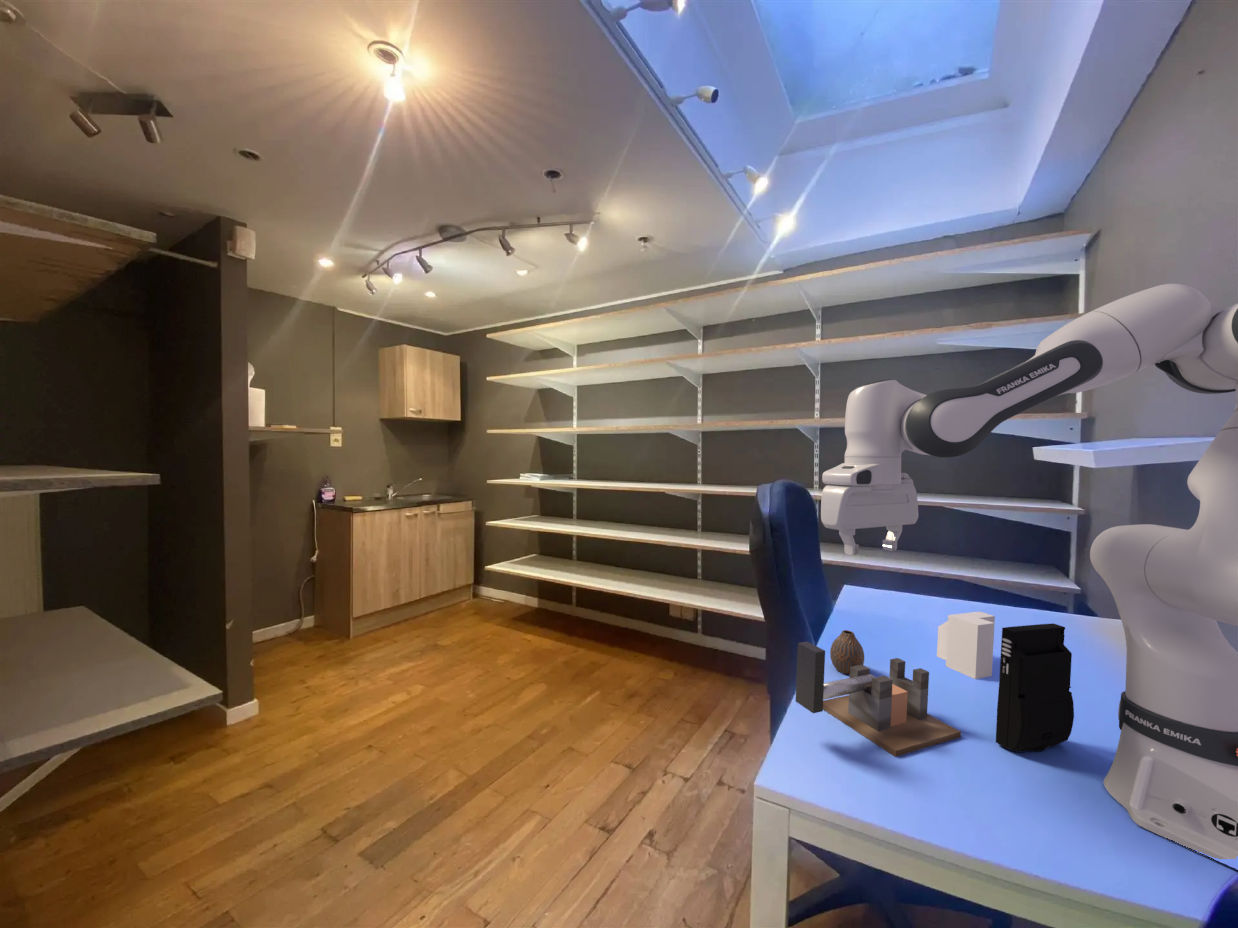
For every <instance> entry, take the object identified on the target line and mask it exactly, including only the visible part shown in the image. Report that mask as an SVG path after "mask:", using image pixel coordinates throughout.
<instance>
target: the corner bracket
mask: <svg viewBox="0 0 1238 928" xmlns="http://www.w3.org/2000/svg"><path fill="white" fill-rule="evenodd" d="M995 621H996V616H995V615H992V614H989V613H985V612H982V611H973V612H963V613H954V614H948V615H947V620H946V621H945V622H943V623H942V624H940V625H938V627H937V643H936V645H937V646H936V657H937V658H940V659H942V660H944V661H945V667H947V668H949V669H951V670H952V671H956V672H957V673H960V674H961V675H965V676H967V677H969V678H972V679H973V680H978V679H984V678H990V677H992V676H993V662H994V661H993V659H994V658H993V657H994V642H995V641H994V640H995Z"/></svg>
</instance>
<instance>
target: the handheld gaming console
mask: <svg viewBox="0 0 1238 928" xmlns="http://www.w3.org/2000/svg"><path fill="white" fill-rule="evenodd" d="M1065 630H1066V627H1065V626H1063V625H1060V624H1057V623H1040V624H1038V623H1037V624H1029V625H1027V624H1025V625H1017V626H1006V627H1002V628H1001V644H1000V645H1001V646H1000V647H1001V648H1000V658H999V659H1000V661H999V663H1000V664H999V677H998V678H999V679H998V695H997V704H996V705H997V709H996V724H995V725H996V726H995V727H996V728H995V743H996V744H997V745H999V746H1001V747H1003V748H1005V749H1008V750H1010V751H1012V752H1016V753H1017V752H1020V753H1022V752H1043V751H1045V750H1047V749H1048V748H1049V747H1051V748H1053V747H1055V746H1057V745H1059V744H1062V743H1064V742H1067V741H1068V740H1069V738H1070V736H1071V734H1072V730H1073V726H1074V719H1075V711H1074V710H1075V708H1074V705H1075V704H1074V699H1073V694H1072V693H1073V692H1072V691H1070V689H1071V688H1072V686H1071V676H1072V675H1071V674H1072V655H1073V653H1072V652H1071V651H1070V649H1069V648H1068V647H1067V646H1066V645H1065Z"/></svg>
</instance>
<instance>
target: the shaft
mask: <svg viewBox="0 0 1238 928" xmlns="http://www.w3.org/2000/svg"><path fill="white" fill-rule="evenodd" d="M796 662H797V663H796V679H795V681H796V683H795V684H796V685H795V702H796V704H798V705H800V706H802V707H803V708H805V709H806V710H808V711H809V712H811V714H817V713H822V712H823V711H824V710H823V701H824V700H829V699H834V698H838V697H843V696H847V695H849V694H852V693H857V692H861V691H866V690H870V689H872V678H875V676H874V675H873V674H872V673H869V674H867V675H862V676H857V677H852V678H850V677H848V678H842V679H838V680H832V681H828V682H825V666H826V664H825V663H826V650H824V649H823V648H821V647H819V646H817V645H815V644H812V643H811V642H809V641H802V642H797V658H796Z"/></svg>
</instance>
